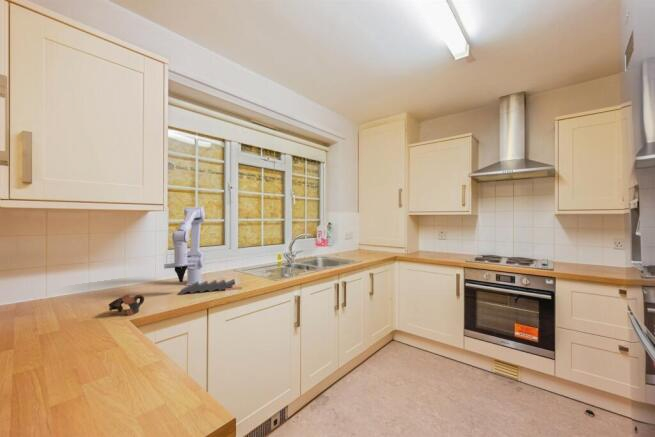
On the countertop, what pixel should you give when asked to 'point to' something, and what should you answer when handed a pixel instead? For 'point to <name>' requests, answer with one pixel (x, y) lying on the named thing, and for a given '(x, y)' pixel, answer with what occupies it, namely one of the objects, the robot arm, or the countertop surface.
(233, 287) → the domino
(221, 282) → the domino
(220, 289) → the domino
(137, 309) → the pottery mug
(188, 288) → the domino
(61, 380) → the countertop surface
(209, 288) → the domino
